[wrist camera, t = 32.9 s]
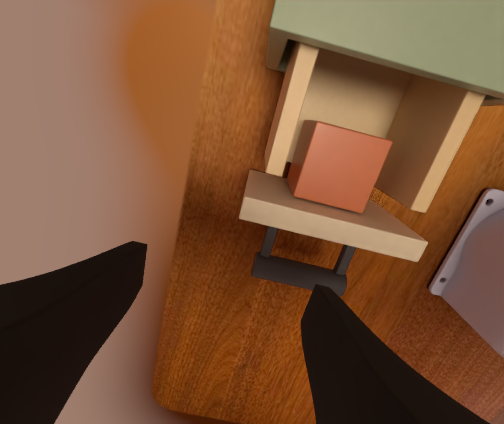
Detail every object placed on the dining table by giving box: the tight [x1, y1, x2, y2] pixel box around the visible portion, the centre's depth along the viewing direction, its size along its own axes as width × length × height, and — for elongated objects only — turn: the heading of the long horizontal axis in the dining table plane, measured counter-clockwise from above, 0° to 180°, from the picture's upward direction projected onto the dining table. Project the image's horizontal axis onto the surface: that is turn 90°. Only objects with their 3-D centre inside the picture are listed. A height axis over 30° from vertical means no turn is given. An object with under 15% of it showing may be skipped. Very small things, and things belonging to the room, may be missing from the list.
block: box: [287, 120, 393, 213], centre depth 16 cm, size 4×4×4 cm
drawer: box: [239, 40, 486, 297], centre depth 15 cm, size 18×9×7 cm, turn 166°
